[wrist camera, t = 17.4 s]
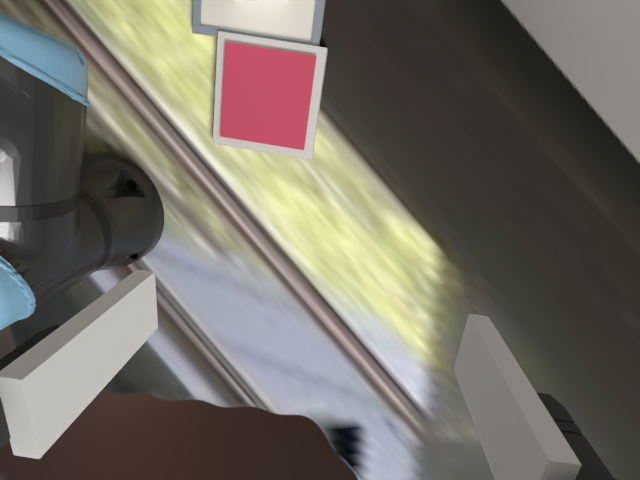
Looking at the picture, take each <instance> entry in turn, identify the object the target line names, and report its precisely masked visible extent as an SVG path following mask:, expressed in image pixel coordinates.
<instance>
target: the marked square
mask: <svg viewBox="0 0 640 480" xmlns="http://www.w3.org/2000/svg"><path fill="white" fill-rule="evenodd" d="M324 7H325V0H288V2H261V1H235V0H193V29H192V33H194V34H199V35H205V36H212V37H218V31H222V32H228V33H235V34H241V35H247V36H254V37H260V38H267V39H273V40H280V41H286V42H292V43H299V44H305V45H312V46H318V47H319V44H320V37H321V29H322V22H323V14H324Z"/></svg>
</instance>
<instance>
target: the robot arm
mask: <svg viewBox="0 0 640 480" xmlns="http://www.w3.org/2000/svg"><path fill="white" fill-rule="evenodd" d="M87 90H88V65H87V61H86V59H85V57H84V55H83V54H82V52H81V51H80V50H79V49H78V48H77V47H76V46H75V45H73V44H72V43H70V42H68V41H66V40H64V39H62V38H59V37H57V36H54V35H52V34H49V33H47V32H44V31H42V30H39V29H37V28H34V27H32V26H29V25H27V24H24V23H22V22H19V21H17V20H14V19H12V18H9V17H7V16H4V15H2V14H0V330H1V329H3V328H5V327H7V326H8V325H10V324H12V323H14V322H16V321H17V320H21V319H23V318H27V317H28V316H30V315H31V314H32V313H33V312H34V311H36V310H37V309H39V308H40V307H42V306H43V305H45V304H46V303H48V302H49V301H51V300H53V299H54V298H56V297H57V296H59V295H60V294H62V293H63V292H65V291H66V290H68V289H69V288H71V287H72V286H74V285H75V284H77V283H78V282H80V281H81V280H83V279H84V278H86V277H87V276H89V275H90V274H92V273H93V272H95V271H99V270H105V269H111V268H117V267H122V266H126V265H129V264H131V263H134V262H136V261H137V260H139V259H141V258H142V257H143V256H145V255H146V254H148V253H149V252H150V251H151V250H152V249H153V248H154V247H155V246H156V244H157V243H158V241H159V239H160V237H161V234H162V231H163V225H164V212H163V206H162V203H161V200H160V197H159V194H158V192H157V190H156V189H155V187H154V185H153V184H152V182H151V181H150V180H149V178H148V177H147V176H146V175H145V174H144V173H143V172H142V171H141V170H140V169H139V168H138V167H137V166H135V165H134V164H132V163H131V162H129V161H128V160H126V159H124V158H122V157H120V156H117V155H114V154H110V153H105V152H89V153H84V142H85V130H86V119H87V107H88V108H90V103H89V101H88V99H87ZM157 328H158V320H157V303H156V286H155V272H151V271H144V270H136V271H135V272H133V273H132V274H131V275H129V276H128V277H127V278H125V279H124V280H122V281H121V282H120V283H118V284H117V285H116V286H114V287H113V288H112V289H110V290H109V291H108V292H106V293H105V294H104V295H102V296H101V297H99V298H98V299H97V300H95V301H94V302H93V303H91V304H90V305H89V306H87V307H86V308H85V309H83V310H82V311H81V312H79V313H78V314H77V315H75V316H74V317H72V318H71V319H70V320H68V321H67V322H66V323H64V324H63V325H62V326H60V325H55V326H52V327H50V328H48V329H45V330H43V331H41V332H38V333H37V334H36V335H34V336H33V337H31V338H30V339H28V340H27V341H26V342H25V343H24V344H21V345H20V346H19V347H17V348H16V349H15V350H13V352H10V353H9V354H8V355H6V356H4V357H3V358H2V359H0V448H1V447H2V446H3V445H4V444H5V443H6V442H7V441H8V440H9V439H10V443H11V446H12V450H13V454H14V455H18V456H24V457H30V458H36V459H40V458H41V457H42V456H43V454H45V452H46V451H47V450H48V449H49V448H50V447H51V446H52V445H53V444H54V442H55V441H56V440H57V439H58V438H59V437H60V436H61V435H62V434H63V432H64V431H65V430H66V429H67V428H68V427H69V426H70V425H71V423H72V422H73V421H74V420H75V419H76V418H77V417H78V416H79V415H80V413H81V412H82V411H83V410H84V409H85V408H86V407H87V406H88V405H89V404H90V402H91V401H92V400H93V399H94V398H95V397H96V396H97V394H99V392H100V391H101V390H102V389H103V388H104V387H105V386H106V385H107V384H108V382H109V381H110V380H111V379H112V378H113V377H114V376H115V375H116V374H117V372H118V371H119V370H120V369H121V368H122V367H123V366H124V365H125V364H126V362H127V361H128V360H129V359H130V358H131V357H132V356H133V355H134V354H135V353H136V351H137V350H138V349H139V348H140V347H141V346H142V345H143V344H144V343H145V341H146V340H147V339H148V338H149V337H150V336H151V335H152V334H153V333H154V331H155V330H156V329H157ZM454 372H455V374H456V377H457V380H458V382H459V385H460V388H461V390H462V393H463V396H464V398H465V401H466V404H467V407H468V409H469V412H470V415H471V417H472V420H473V423H474V425H475V428H476V431H477V433H478V436H479V439H480V442H481V444H482V447H483V450H484V452H485V455H486V458H487V460H488V463H489V466H490V468H491V471H492V474H493V477H494V479H495V480H617V479H614V478H613V477H612V475H611V474H610V472H609V471H608V469H607V468H606V467H605V465H604V464H603V462H602V461H601V459H600V458H599V456H598V455H597V454H596V452H595V451H594V449H593V448H592V446H591V445H590V443H589V442H588V441H587V439H586V438H585V436H583V435H582V432H581V430H580V429H579V428H578V426H577V425H576V424H574V420H573V419H572V418H571V416H570V415H569V413H568V412H567V410H566V409H565V407H563V406H562V405H561V404H560V403H559V402H558V401H557V400H555V399H554V398H553V397H552V396H551V395H549V394H542V393H536V392H535V390H534V388H533V387H532V385H531V384H530V382H529V380H528V379H527V377H526V376H525V374H524V373H523V371H522V369H521V368H520V366H519V365H518V363H517V361H516V360H515V358H514V357H513V355H512V353H511V352H510V350H509V349H508V347H507V346H506V344H505V342H504V341H503V339H502V338H501V336H500V334H499V333H498V331H497V330H496V328H495V326H494V325H493V323H492V322H491V320H490V319H489V317H488V316H482V315H474V314H469V315H468V319H467V323H466V326H465V330H464V334H463V337H462V341H461V345H460V348H459V352H458V355H457V359H456V363H455V366H454Z"/></svg>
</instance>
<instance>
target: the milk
mask: <svg viewBox="0 0 640 480" xmlns="http://www.w3.org/2000/svg"><path fill="white" fill-rule="evenodd" d="M235 1H261V2H288V0H235Z"/></svg>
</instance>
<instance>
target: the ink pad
mask: <svg viewBox="0 0 640 480" xmlns="http://www.w3.org/2000/svg"><path fill="white" fill-rule="evenodd" d="M327 52H328V49H327V48H325V47H318V46H312V45H305V44H299V43H292V42H286V41H280V40H273V39H267V38H260V37H254V36H247V35H241V34H235V33H228V32H222V31H218V41H217V62H216V83H215V104H214V125H213V144H219V145H225V146H231V147H237V148H243V149H249V150H255V151H261V152H267V153H273V154H279V155H285V156H291V157H297V158H303V159H309V160H312V159H313V152H314V145H315V137H316V130H317V123H318V116H319V109H320V102H321V95H322V88H323V81H324V74H325V67H326V60H327Z"/></svg>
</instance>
